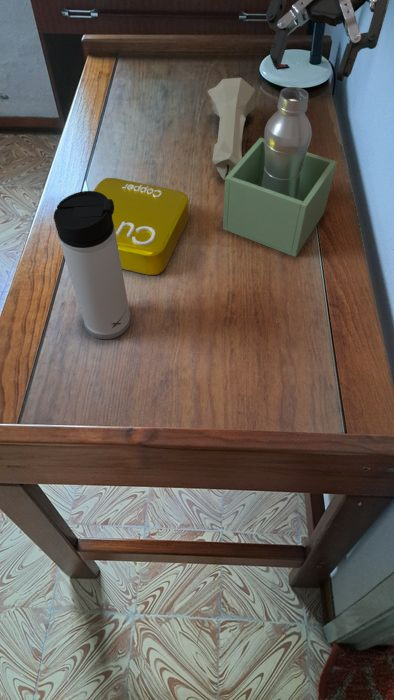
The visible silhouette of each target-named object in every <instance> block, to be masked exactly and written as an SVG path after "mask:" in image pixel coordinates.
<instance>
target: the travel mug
mask: <svg viewBox="0 0 394 700" xmlns="http://www.w3.org/2000/svg"><path fill="white" fill-rule="evenodd" d="M113 213H114V203H113V200H112V199H108V198H107V197H106V196H105V195H103V194H102V193H99V192H96V191H94V190H82V191H78V192H75V193H72V194H70V195H68V196H66V197H65V198H63V199H62V200H60V202H59V203H58V204H57V206H56V209H55V210H54V212H53V221H54V224H55V228H56V232H57V238H58V240H59V244H60V247H61V250H62V253H63V257H64V260H65V263H66V268H67V271H68V273H69V277H70V281H71V285H72V287H73V290H74V293H75V298H76V300H77V303H78V308H79V310H80V313H81V317H82V321H83V324H84V327H85V330H86V331H87V333H88V334H89V335H91V336H92V337H94V338H96V339H100V340H110V339H115V338H117V337H120V336H121V335H123V334H124V333H125V332H126V331H127V330H128V329H129V327H130V325H131V313H130V307H129V301H128V296H127V290H126V284H125V277H124V273H123V269H122V267H121V261H120V255H119V250H118V244H117V238H116V233H115V227H114V223H113V220H112V214H113Z"/></svg>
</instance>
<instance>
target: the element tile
mask: <svg viewBox="0 0 394 700" xmlns="http://www.w3.org/2000/svg"><path fill="white" fill-rule="evenodd" d="M93 191H96V192H99V193H102V194H103V195H105V196H106V197H107V198H108V199H112V200H113V203H114V213H113V214H112V220H113V223H114V227H115V233H116V238H117V244H118V250H119V255H120V261H121V267H122V270H126V271H130V272H135V273H140V274H142V275H148V276H153V275H154V276H156V275H159V274H161V273H162V272H164V270H165V269H166V267H167V265H168V263H169V261H170V259H171V257H172V256H173V255H172V254H173V252H174V251H175V249H176V247H177V244H178V243H179V240H180V238H181V236H182V234H183V233H184V230H185V229H186V226H187V224H188V222H189V218H190V217H189V216H190V215H189V196H188V195H187V194H186V193H185V192H183V191H180V190H177V189H172V188H167V187H162V186H157V185H151V184H147V183H142V182H137V181H133V180H126V179H122V178H117V177H105V178H104V179H102V180H101V181H99V182H98V183H97V185H96V186H95V188H94V189H93Z"/></svg>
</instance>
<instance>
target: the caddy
mask: <svg viewBox="0 0 394 700" xmlns="http://www.w3.org/2000/svg"><path fill="white" fill-rule="evenodd" d="M337 164H338V161H337V160H333V159H330V158H327V157H324V156H320V155H318V154H314V153H311V152H308V151H307V153H306V156H305V159H304V162H303V167H302V170H301V175H300V182H299V200H298V199H295V198H292V197H289V196H286V195H283V194H280V193H278V192H275V191H272V190H269V189H266V188H263V187H261V185H262V180H263V175H264V167H265V143H264V137H259V138H258V139H257V140H256V141H255V143H254V144H253V145H252V146H251V147H250V148H249V149H248V151H247V152H245V154H244V155H243V156H242V159H241V160H240V161H239V162H238V164H237V165H236V166H235V167H234V168H233V169H232V171H231V172H230V173H229V174H228V175H227V176H226V177H225V180H224V192H223V193H224V194H223V197H224V198H223V211H222V230H224V231H226V232H229V233H231V234H234V235H237V236H239V237H242V238H245V239H247V240H249V241H252V242H256V243H258V244H261V245H263V246H266V247H268V248H271V249H274V250H276V251H278V252H281V253H284V254H286V255H289V256H291V257H294V258H296V257H297V256H298V255H299V253H300V251H301V250H302V248H303V246H304V245H305V244H306V242H307V240H308V239H309V237H310V235H311V234H312V233H313V231H314V230H315V228H316V226H317V225H318V223H319V222H320V220H321V218H322V217H323V216H324V214H325V212H326V209H327V208H326V207H327V203H328V199H329V196H330V191H331V187H332V184H333V179H334V176H335V171H336V167H337Z"/></svg>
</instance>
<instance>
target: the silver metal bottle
mask: <svg viewBox="0 0 394 700" xmlns="http://www.w3.org/2000/svg"><path fill="white" fill-rule="evenodd" d="M308 101H309V92H308V91H307V90H305V89H303V88H301V87H298V86H290V87H289V86H288V87H285V88H282V89H281V90H280V93H279V97H278V101H277V110H276V111H275V112H274V113H273V114H272V116H270V118H269V119H268V120H267V122H266V124H265V127H264V132H263V138H264V143H265V167H264V175H263V180H262V185H261V187H263V188H266V189H269V190H272V191H275V192H278V193H280V194H283V195H286V196H289V197H292V198H295V199H298V200H299V182H300V175H301V170H302V167H303V162H304V159H305V156H306V153H307V152H308V149H309V147H310V145H311V140H312V137H313V131H312V126H311V125H312V124H311V122H310V120H309V118H308V117H307V114H306V113H307V110H308V108H309V107H308Z"/></svg>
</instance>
